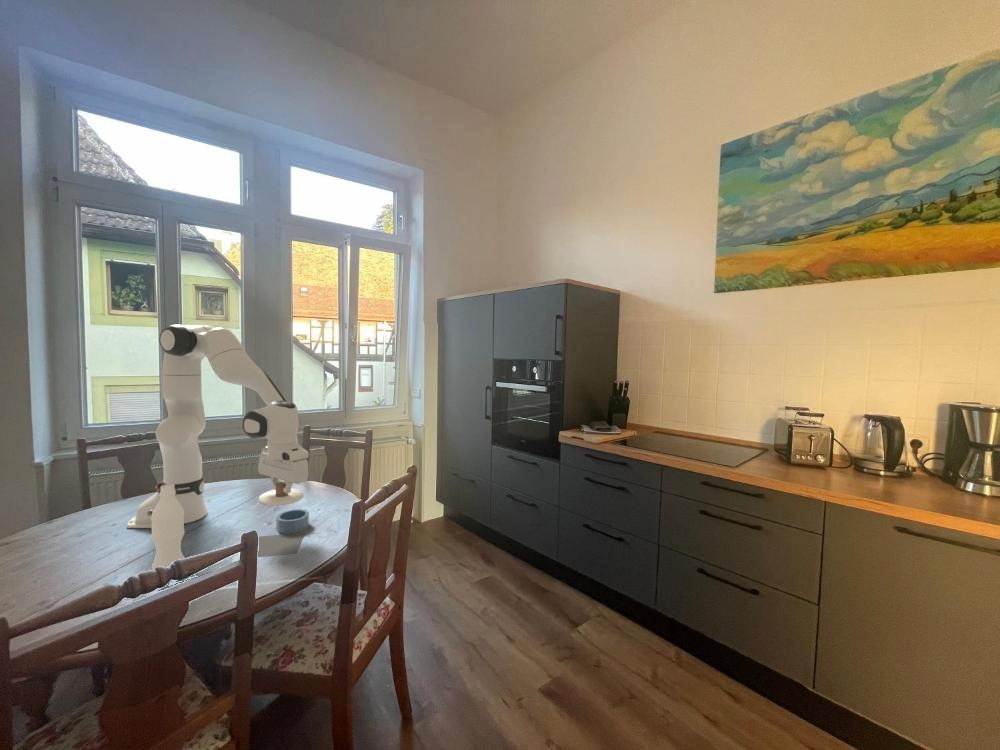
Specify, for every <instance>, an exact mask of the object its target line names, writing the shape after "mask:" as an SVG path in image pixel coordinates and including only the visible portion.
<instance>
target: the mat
mask: <svg viewBox="0 0 1000 750" xmlns="http://www.w3.org/2000/svg"><path fill="white" fill-rule="evenodd" d="M305 535H306V532H297V533H292V534H275V535H261V536H259V537H258V538H259V551H258V557H257V558H259V557H260V558H261V557H270V556H271V557H272V556H281V555H282V556H283V555H293V554H294V555H295V554H297V553H298V551H299V549H300V546H301V545H302V541H303V540H304V538H305V537H304V536H305Z"/></svg>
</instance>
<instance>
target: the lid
mask: <svg viewBox="0 0 1000 750" xmlns="http://www.w3.org/2000/svg"><path fill="white" fill-rule="evenodd" d="M285 486H286V484H285V481H279V482H278V483H276V490H273V489H272V490H269V491H266V492H264V493H262V494H260V495H259V497H258V503H259V504H261V505H263V506H268V507H269V506H270V507H273V506H274V507H277V506H286V505H291V504H294V503H297V502H299V501H301V500H302V499H303V498H304V495H305V494H304V491H303V490H301V489H298V488H292V487H291V492H290V493H288V494H286V493H283V488H285Z"/></svg>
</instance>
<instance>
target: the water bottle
mask: <svg viewBox="0 0 1000 750" xmlns="http://www.w3.org/2000/svg"><path fill="white" fill-rule="evenodd" d="M160 489H161V492H160V494H159V496H160V500H159V502H158V504H157V506H156V507H155V509H154V511H153V513H152V515H151V520H152V528H151V535H150V536H151V537H150V539H151V540H152V542H153V544H154V548H155V556H154V559H153V562H152V564H151V570H152V569H154V568H156V567H158V566H164V567H167V566H169V565H170V564H171V563H172V562H173V561H175V560H178V559H183V558H185V556H184V554H183V553H182V548H181V547H182V541H183V537H184V536H185V531H186V529H185V525H184V509H183V507H182V505H181V504H180V503H179V502H178V500H177V499H176V497H175V494H176V492H175V490H174V489H175V487H174V484H167V485H163V486H161V487H160ZM185 559H186V558H185Z"/></svg>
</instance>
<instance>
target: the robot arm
mask: <svg viewBox="0 0 1000 750" xmlns="http://www.w3.org/2000/svg"><path fill="white" fill-rule="evenodd" d="M158 340H159V346H160V347H161V349H162V350H163V351H164V355H163V361H162V369H161V370H162V371H161V372H162V373H161V375H162V376H161V377H162V378H161V379H162V381H161V382H162V398H163V400H164V402H165V406H166V409H167V417H166V418H165V419H163V420H161V421H160V423H159V424H158V426H157V428H156V429H155V439H156V440H157V442H158V444H159V448H160V452H161V453H160V454H161V455H162V461H163V464H162V467H163V479H162V480H161V481H160V482H159V483H157V485H155V486H154V487H155V490H157V492H156V493H154V494H153V495H151V496H150V497H149V498H147V499H145V501H143V502H142V503H140V504H139V506H138V508H137V509H136V514H135V516H132V518H131V519H130V520H128V521H127V523H126V524H127V525H126V527H127V528H129V529H152V520H151V515H152V513H153V511H154V509H155V507H156V506H157V504H158V502H159V500H160V496H159V494H160V492H161V489H160V487H161V486H163V485H167V484H174V487H175V489H174V490H175V492H176V494H175V497H176V499H177V500H178V502H179V503H180V504H181V505H182V507H183V509H184V524H189V523H193V522H195V521H197V520H200V519H203V518H204V517H205V516H207V515H208V513H209V512H208V509H207V507H206V503H205V497H204V489H205V481H204V476H203V456H202V454H201V451H200V445H199V435H200V436H201V434H202V433H203V432H204V430H205V429H206V425H207V420H206V419H207V418H206V416H205V415H206V414H205V407H204V401H203V396H202V395H203V394H202V360H203V359H204V358H207V360H208V362H209V365H210V367H211V369H212V370H213V372H214V373H215V375H216V377H218V378H219V379H220V380H222V381H224V382H226V383H229V384H233V385H238V386H242V387H246V388H247V389H248V388H249V389H250V390H252V391H255V392H256V393H257V394H258V395H259V397H261V399H262V400H263V402H264V403H265V404H266V406H264V407H260V408H257V409H253V410H251V411H248V412H247V413H246V414H245V415H244V416H243V419H242V430H243V432H244V434H245V435H246V436H247V437H248V438H250V439H263V438H266V439H267V445H266V446H264V447H262V449H261V451H260V452H261V453H260V455H259V459H258V466H257V471H258V473H259V474H260V475H264V476H267V477H270V481H271V485H272V490H276V483H278V482H280V481H283V482H285V484H286V486H285V488H283V493H286V494H288V493H290V492H291V488H292V486H294V484H295V485H300V484H303V483H306V482H307V481H308V479H309V478H308V477H309V461H308V458H309V455H310V453H309V451H308V450H307V449H305V448H304V447H303V446H302V445H300V443H299V438H298V430H299V421H300V417H299V412H298V406H297V405H296V404H295V403H294V402H291V401H288V400H286V398H285V396H283V394H282V393H281V392H280V390H279V388H278V387H277V386H276V384H275V382H274V381H273V380H272V379H271V377H270V376H269V375H268V374H267V372H265V371H264V370H263V369H261V368H260V367H259V366H258V365H257V364H255V362H254V361H253V360H252V359H251V358H250V356H249V355H248V353H247V351H246V349H245V347H243V345H242V343H241V342H240V340H239V339H238V338H237V336H236V335H235V334H234V333H233V332H232V331H231V330H230V329H228V328H225V327H221V326H212V325H204V324H186V325H185V324H184V325H183V324H171V325H168V326H165V327H164V328H163V329H162V330H161V332H160V334H159V339H158ZM279 480H280V481H279Z"/></svg>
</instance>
